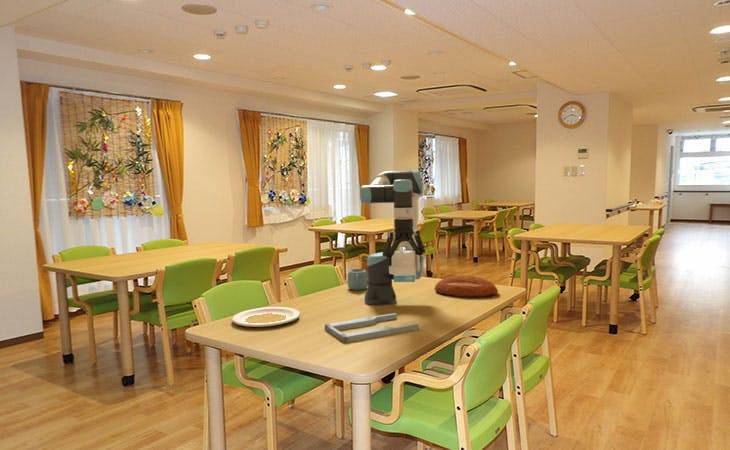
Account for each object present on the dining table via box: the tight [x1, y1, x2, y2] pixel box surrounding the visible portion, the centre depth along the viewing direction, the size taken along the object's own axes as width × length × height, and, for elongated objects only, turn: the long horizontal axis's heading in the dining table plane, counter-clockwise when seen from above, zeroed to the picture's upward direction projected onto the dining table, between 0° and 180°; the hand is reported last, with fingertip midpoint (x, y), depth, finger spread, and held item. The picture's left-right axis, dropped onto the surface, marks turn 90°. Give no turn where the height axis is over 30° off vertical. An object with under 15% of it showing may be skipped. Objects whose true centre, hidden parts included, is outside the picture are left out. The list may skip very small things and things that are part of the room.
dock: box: [324, 312, 420, 344], centre depth 196 cm, size 19×32×2 cm, turn 116°
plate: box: [232, 306, 301, 328], centre depth 214 cm, size 28×28×2 cm
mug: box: [347, 268, 368, 291], centre depth 268 cm, size 15×11×10 cm
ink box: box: [393, 246, 417, 283], centre depth 203 cm, size 9×8×13 cm
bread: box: [434, 274, 499, 298], centre depth 253 cm, size 23×32×9 cm
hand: (404, 272), depth 203 cm, fingers closed on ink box, 11 cm apart
